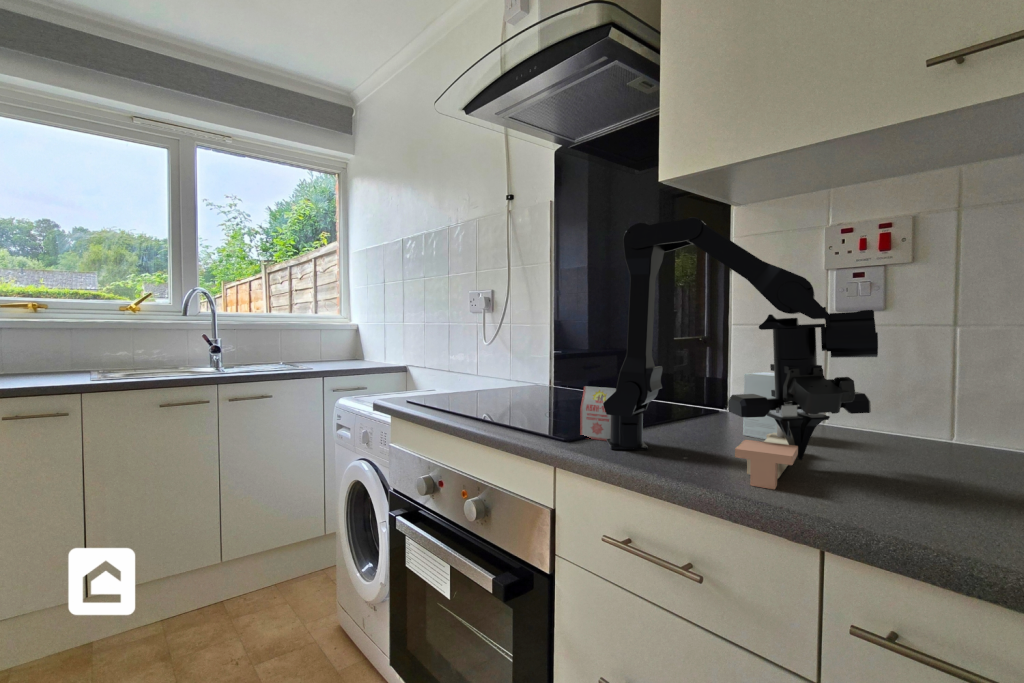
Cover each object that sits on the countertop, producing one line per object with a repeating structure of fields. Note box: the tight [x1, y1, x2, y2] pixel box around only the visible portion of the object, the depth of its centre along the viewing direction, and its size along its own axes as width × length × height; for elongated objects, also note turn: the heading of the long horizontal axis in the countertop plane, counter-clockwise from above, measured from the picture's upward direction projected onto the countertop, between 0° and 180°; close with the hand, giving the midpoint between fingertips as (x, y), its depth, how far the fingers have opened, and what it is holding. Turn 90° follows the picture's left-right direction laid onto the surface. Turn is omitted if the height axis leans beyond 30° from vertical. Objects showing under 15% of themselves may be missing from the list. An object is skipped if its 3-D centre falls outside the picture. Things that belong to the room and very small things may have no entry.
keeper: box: [734, 439, 798, 490], centre depth 70 cm, size 7×7×5 cm
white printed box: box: [579, 385, 616, 442], centre depth 98 cm, size 4×7×10 cm, turn 57°
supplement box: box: [742, 371, 777, 440], centre depth 99 cm, size 7×7×13 cm
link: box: [746, 424, 789, 480], centre depth 79 cm, size 21×5×5 cm, turn 143°
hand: (798, 459), depth 76 cm, fingers closed
